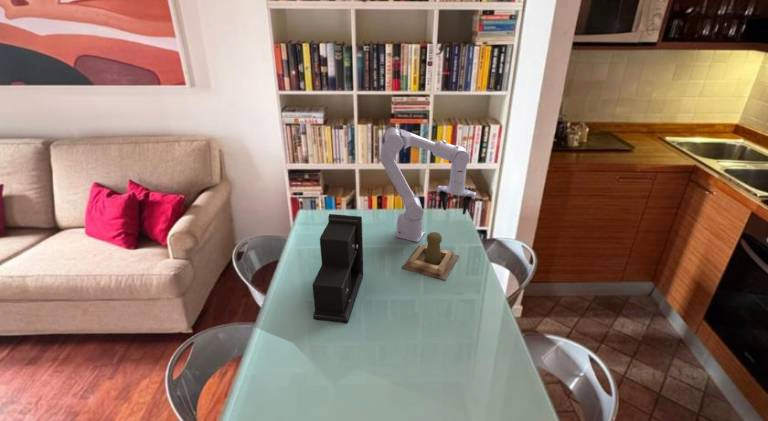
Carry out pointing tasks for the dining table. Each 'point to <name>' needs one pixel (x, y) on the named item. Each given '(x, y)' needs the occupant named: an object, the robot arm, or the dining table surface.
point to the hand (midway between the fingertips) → (454, 211)
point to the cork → (433, 248)
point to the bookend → (339, 268)
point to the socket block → (436, 271)
